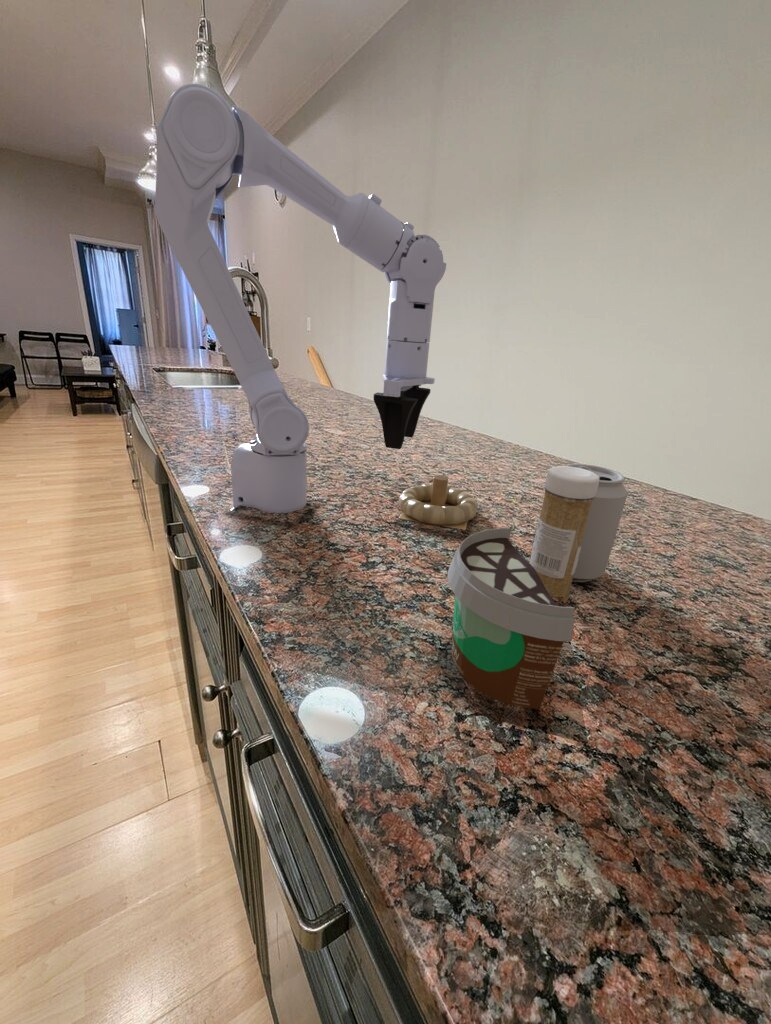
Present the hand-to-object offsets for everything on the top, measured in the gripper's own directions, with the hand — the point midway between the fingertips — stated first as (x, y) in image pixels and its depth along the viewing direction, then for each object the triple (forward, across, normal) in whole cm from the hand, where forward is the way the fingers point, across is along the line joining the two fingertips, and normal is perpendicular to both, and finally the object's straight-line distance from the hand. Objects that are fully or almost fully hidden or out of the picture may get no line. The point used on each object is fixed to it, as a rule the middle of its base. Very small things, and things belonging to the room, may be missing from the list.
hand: (400, 441), depth 64 cm
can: (+10, -12, -24) cm, 28 cm away
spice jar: (+10, -19, -21) cm, 30 cm away
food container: (+10, -33, -15) cm, 37 cm away
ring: (+7, -4, -7) cm, 11 cm away
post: (+9, -4, -7) cm, 12 cm away
